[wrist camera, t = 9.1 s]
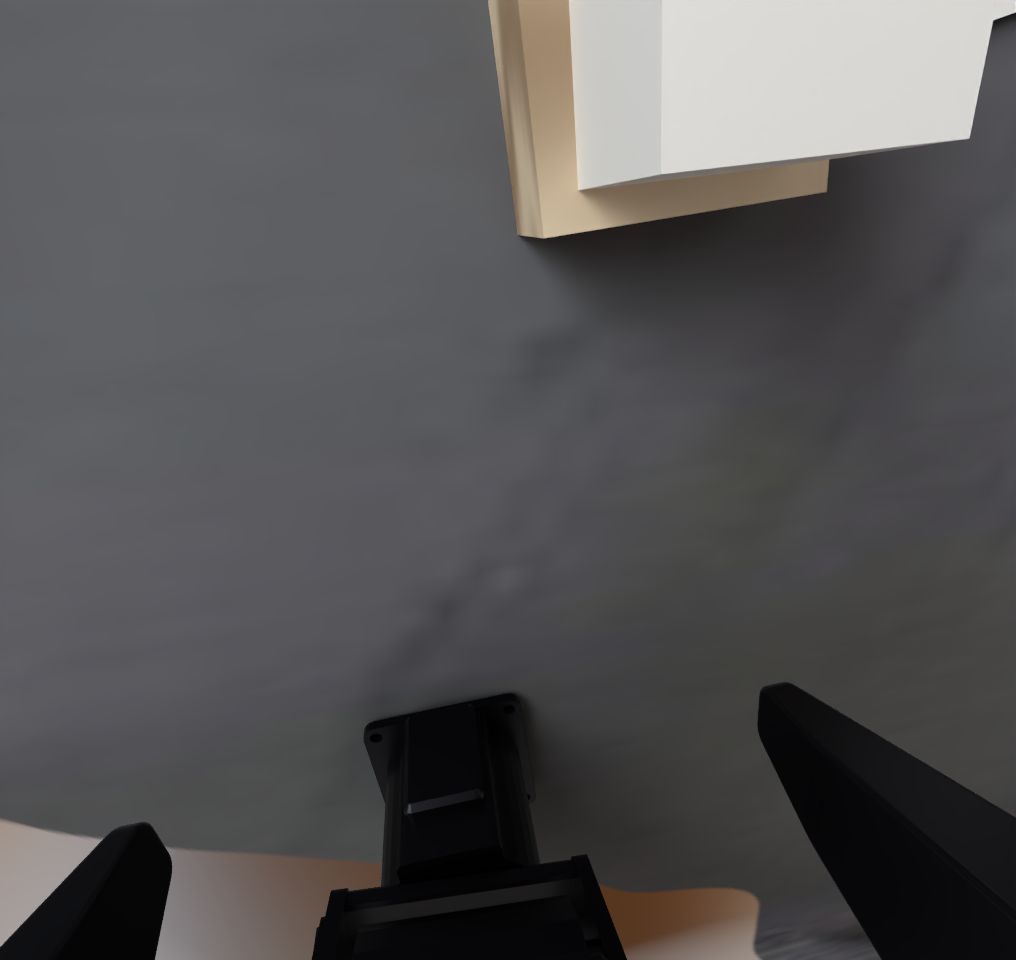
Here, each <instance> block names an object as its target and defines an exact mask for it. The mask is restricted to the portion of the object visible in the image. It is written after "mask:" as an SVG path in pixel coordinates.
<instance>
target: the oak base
mask: <svg viewBox="0 0 1016 960" xmlns="http://www.w3.org/2000/svg"><path fill="white" fill-rule="evenodd" d="M488 3H489V11H490V19H491V27H492V35H493V43H494V51H495V59H496V67H497V75H498V82H499V90H500V98H501V106H502V114H503V122H504V130H505V138H506V146H507V154H508V162H509V169H510V177H511V185H512V193H513V201H514V209H515V217H516V225H517V233H518V235H521V236H529V237H537V238H550V237H556V236H562V235H568V234H574V233H580V232H586V231H592V230H598V229H604V228H610V227H617V226H623V225H629V224H635V223H641V222H647V221H653V220H659V219H665V218H671V217H677V216H683V215H689V214H695V213H702V212H708V211H714V210H720V209H726V208H732V207H738V206H744V205H750V204H756V203H762V202H768V201H774V200H781V199H787V198H793V197H799V196H805V195H811V194H817V193H823V192H827V182H828V170H829V160H823V161H816V162H810V163H803V164H797V165H790V166H783V167H774V168H765V169H757V170H748V171H740V172H731V173H723V174H714V175H706V176H697V177H688V178H680V179H671V180H663V181H654V182H646V183H637V184H628V185H620V186H611V187H603V188H594V189H586V190H578V176H577V156H576V135H575V115H574V95H573V75H572V55H571V35H570V15H569V0H488Z"/></svg>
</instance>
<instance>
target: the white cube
mask: <svg viewBox="0 0 1016 960" xmlns="http://www.w3.org/2000/svg"><path fill="white" fill-rule="evenodd" d="M996 4H997V0H569V15H570V35H571V55H572V75H573V95H574V115H575V135H576V156H577V176H578V190H586V189H594V188H603V187H611V186H620V185H628V184H637V183H646V182H654V181H663V180H671V179H680V178H688V177H697V176H706V175H714V174H723V173H731V172H740V171H748V170H757V169H765V168H774V167H783V166H790V165H797V164H803V163H810V162H816V161H823V160H830V159H836V158H843V157H850V156H856V155H863V154H870V153H876V152H883V151H890V150H896V149H903V148H910V147H916V146H923V145H930V144H936V143H943V142H950V141H956V140H963V139H969V137H970V133H971V128H972V123H973V118H974V113H975V108H976V103H977V98H978V93H979V88H980V83H981V78H982V73H983V68H984V63H985V58H986V53H987V48H988V44H989V39H990V34H991V29H992V24H993V19H994V14H995V9H996Z"/></svg>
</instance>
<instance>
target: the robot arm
mask: <svg viewBox="0 0 1016 960" xmlns="http://www.w3.org/2000/svg"><path fill="white" fill-rule="evenodd" d="M507 705H512V706H510V707H505V706H507ZM757 724H758V732H759V736H760V739H761V741H762V743H763V746H764V748H765V750H766V752H767V754H768V756H769V758H770V760H771V762H772V764H773V766H774V768H775V770H776V772H777V774H778V776H779V778H780V781H781V783H782V785H783V787H784V789H785V791H786V793H787V795H788V797H789V799H790V801H791V803H792V805H793V807H794V809H795V811H796V813H797V816H798V818H799V820H800V822H801V824H802V826H803V828H804V830H805V832H806V834H807V836H808V838H809V840H810V842H811V843H812V845H813V847H814V849H815V850H816V852H817V854H818V856H819V857H820V859H821V861H822V863H823V864H824V866H825V868H826V869H827V871H828V872H829V874H830V876H831V877H832V879H833V881H834V882H835V884H836V886H837V887H838V889H839V891H840V892H841V894H842V896H843V897H844V899H845V900H846V902H847V904H848V905H849V907H850V909H851V910H852V912H853V914H854V915H855V917H856V919H857V920H858V922H859V924H860V925H861V927H862V928H863V930H864V932H865V933H866V935H867V937H868V938H869V940H870V942H871V943H872V945H873V947H874V948H875V950H876V951H877V953H878V955H879V956H880V958H881V960H1016V818H1015V817H1014V816H1012V815H1010V814H1009V813H1007V812H1005V811H1004V810H1002V809H1000V808H999V807H997V806H995V805H994V804H992V803H990V802H989V801H987V800H985V799H984V798H982V797H980V796H979V795H977V794H975V793H974V792H972V791H970V790H969V789H967V788H965V787H964V786H962V785H960V784H959V783H957V782H955V781H954V780H952V779H950V778H949V777H947V776H945V775H944V774H942V773H940V772H939V771H937V770H935V769H934V768H932V767H930V766H929V765H927V764H925V763H924V762H922V761H920V760H919V759H917V758H915V757H914V756H912V755H910V754H909V753H907V752H905V751H904V750H902V749H900V748H899V747H897V746H895V745H894V744H892V743H890V742H889V741H887V740H885V739H884V738H882V737H880V736H879V735H877V734H875V733H874V732H872V731H870V730H869V729H867V728H865V727H864V726H862V725H860V724H859V723H857V722H855V721H854V720H852V719H850V718H849V717H847V716H845V715H844V714H842V713H840V712H839V711H837V710H835V709H834V708H832V707H830V706H829V705H827V704H825V703H824V702H822V701H820V700H818V699H817V698H815V697H813V696H812V695H810V694H808V693H807V692H805V691H803V690H802V689H800V688H798V687H797V686H795V685H793V684H791V683H788V682H782V683H777V684H773V685H768V686H765V687H763V688H762V689H761V691H760V695H759V709H758V723H757ZM374 734H379V735H374ZM364 743H365V746H366V749H367V752H368V755H369V757H370V760H371V763H372V766H373V769H374V772H375V775H376V778H377V781H378V784H379V787H380V790H381V793H382V795H383V798H384V801H385V822H384V840H383V858H382V876H381V887H375V888H368V889H361V890H354V891H349V890H348V888H346V889H338V890H332V891H331V893H330V897H329V902H328V907H327V911H326V916H325V917H321V920H320V925H319V927H318V928H317V930H316V937H315V944H314V951H313V956H312V960H627V958H626V956H625V953H624V950H623V948H622V945H621V942H620V940H619V937H618V935H617V932H616V930H615V927H614V924H613V922H612V919H611V916H610V914H609V911H608V908H607V906H606V903H605V901H604V898H603V895H602V893H601V890H600V887H599V885H598V882H597V880H596V877H595V874H594V872H593V869H592V866H591V864H590V861H589V859H588V856H587V855H579V856H572V857H571V860H565V861H558V862H551V863H544V864H540V860H539V854H538V849H537V844H536V839H535V833H534V828H533V823H532V818H531V812H530V807H529V804H530V803H532V802H533V801H534V800H535V798H536V793H535V788H534V782H533V776H532V770H531V764H530V758H529V752H528V746H527V741H526V735H525V729H524V723H523V717H522V711H521V706H520V701H519V698H518V697H517V696H516V695H515V694H511V693H509V694H502V695H497V696H493V697H488V698H483V699H478V700H474V701H469V702H464V703H460V704H455V705H450V706H445V707H441V708H436V709H431V710H426V711H422V712H417V713H412V714H407V715H403V716H398V717H393V718H389V719H384V720H379V721H374V722H371V723H369V724H368V725H367V726H366V727H365V729H364ZM171 874H172V861H171V857H170V855H169V853H168V851H167V850H166V848H165V846H164V845H163V843H162V841H161V840H160V838H159V837H158V835H157V833H156V832H155V830H154V829H153V827H152V826H151V825H150V824H149V823H146V822H140V823H135V824H130V825H126V826H121V827H118V828H116V829H114V830H113V831H111V832H110V833H109V834H108V835H107V836H106V837H105V838H104V839H103V840H102V841H101V842H100V843H99V844H98V845H97V846H96V847H95V849H94V850H93V851H92V852H91V853H90V854H89V855H88V856H87V857H86V858H85V859H84V860H83V861H82V862H81V863H80V864H79V865H78V866H77V867H76V868H75V869H74V870H73V872H72V873H71V874H70V875H69V876H68V877H67V878H66V879H65V880H64V881H63V882H62V883H61V884H60V885H59V886H58V887H57V888H56V889H55V891H54V892H52V893H51V895H50V896H49V897H48V898H47V899H46V900H45V901H44V902H43V903H42V904H41V905H40V906H39V907H38V908H37V909H36V910H35V911H34V912H33V913H32V914H31V915H30V917H29V918H28V919H27V920H26V921H25V922H24V923H23V924H22V925H21V926H20V927H19V928H18V929H17V930H16V931H15V932H14V933H13V934H12V935H11V936H10V937H9V939H8V940H7V941H6V942H5V943H4V944H3V945H2V946H1V947H0V960H155V956H156V951H157V945H158V940H159V936H160V930H161V925H162V920H163V916H164V910H165V906H166V900H167V895H168V891H169V886H170V881H171Z"/></svg>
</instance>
